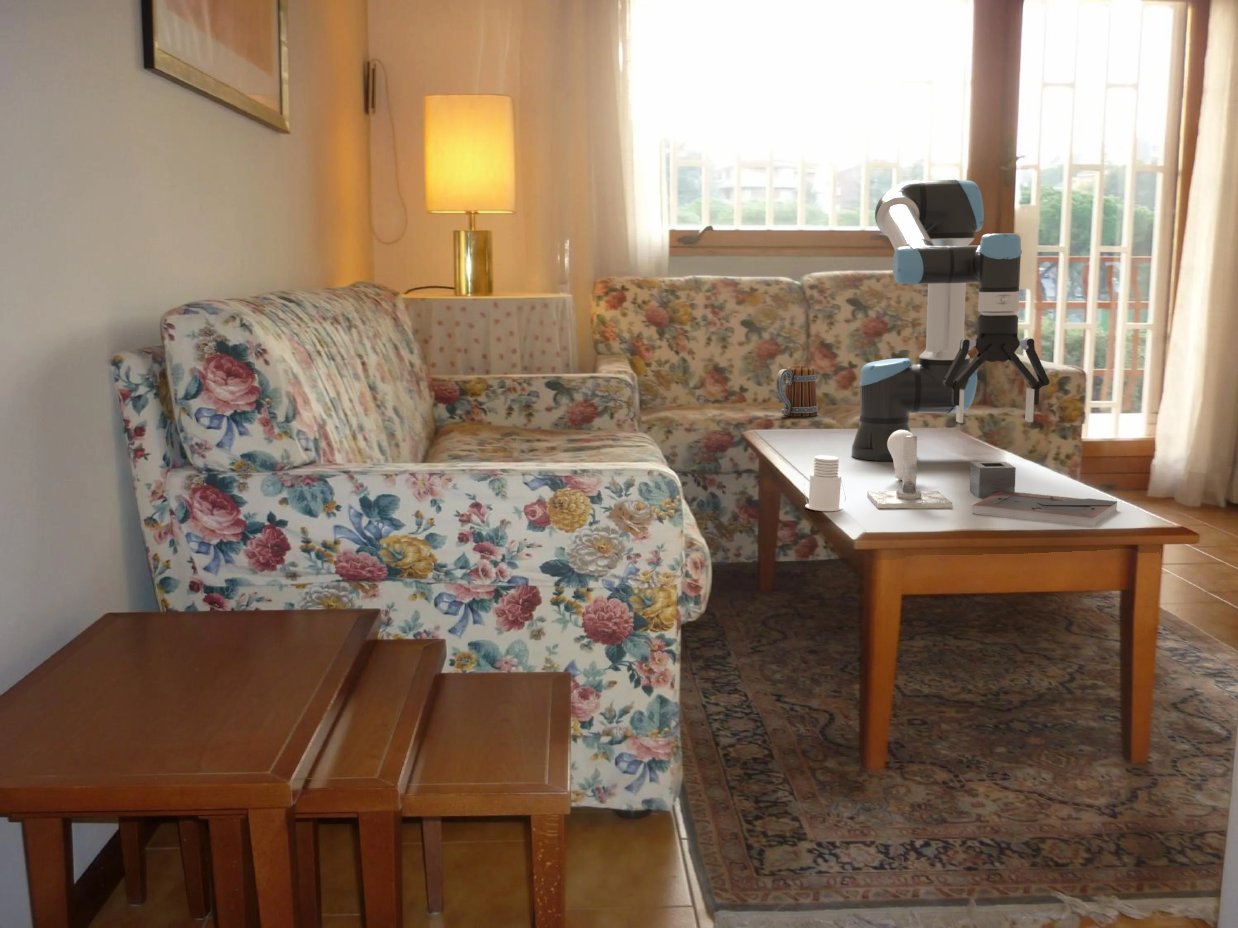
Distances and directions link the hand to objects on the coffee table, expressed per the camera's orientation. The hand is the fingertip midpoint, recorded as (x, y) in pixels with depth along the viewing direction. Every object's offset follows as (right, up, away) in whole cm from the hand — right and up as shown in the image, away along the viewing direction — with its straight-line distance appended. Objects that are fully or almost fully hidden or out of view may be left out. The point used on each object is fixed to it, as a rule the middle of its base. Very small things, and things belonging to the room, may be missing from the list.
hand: (994, 421), depth 231 cm
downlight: (-35, -17, -8) cm, 40 cm away
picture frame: (+5, -18, -14) cm, 23 cm away
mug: (-20, +6, +128) cm, 130 cm away
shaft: (-18, -16, -4) cm, 24 cm away
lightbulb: (-14, -12, +19) cm, 26 cm away
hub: (0, -14, +3) cm, 15 cm away
